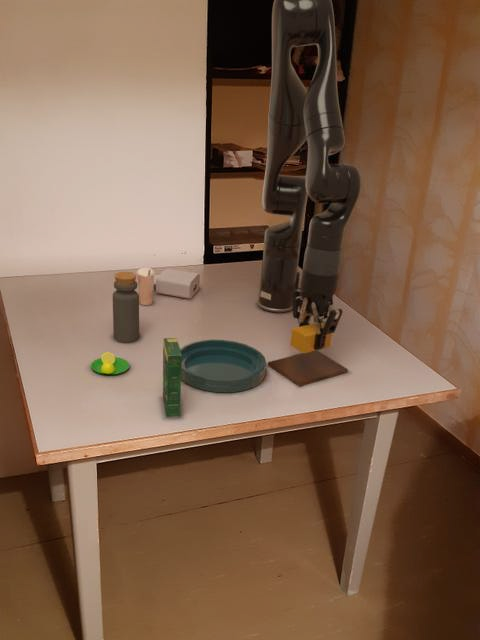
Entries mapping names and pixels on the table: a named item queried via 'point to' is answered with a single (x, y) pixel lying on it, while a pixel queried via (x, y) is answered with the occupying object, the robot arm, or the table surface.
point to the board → (307, 367)
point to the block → (306, 338)
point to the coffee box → (171, 377)
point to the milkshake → (145, 285)
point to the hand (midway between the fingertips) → (310, 343)
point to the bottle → (125, 308)
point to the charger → (177, 283)
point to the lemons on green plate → (109, 364)
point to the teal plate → (222, 365)
